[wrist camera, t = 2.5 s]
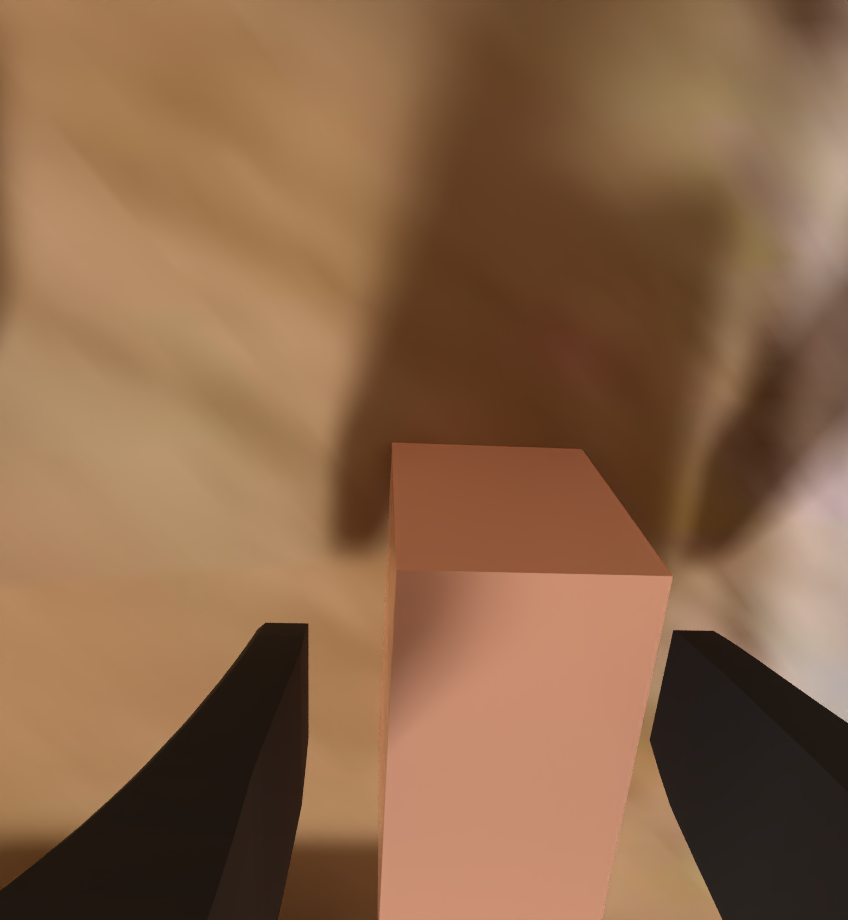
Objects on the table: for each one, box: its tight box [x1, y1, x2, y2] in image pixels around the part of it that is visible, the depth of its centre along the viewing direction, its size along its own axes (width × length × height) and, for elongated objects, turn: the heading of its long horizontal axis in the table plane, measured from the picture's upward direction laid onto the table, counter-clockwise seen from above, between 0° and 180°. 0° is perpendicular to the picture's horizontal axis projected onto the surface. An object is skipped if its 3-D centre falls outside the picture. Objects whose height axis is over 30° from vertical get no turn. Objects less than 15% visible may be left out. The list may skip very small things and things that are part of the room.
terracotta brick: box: [378, 442, 673, 920], centre depth 11 cm, size 3×6×4 cm, turn 177°
